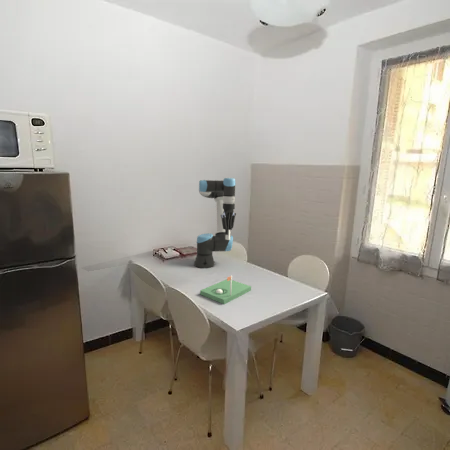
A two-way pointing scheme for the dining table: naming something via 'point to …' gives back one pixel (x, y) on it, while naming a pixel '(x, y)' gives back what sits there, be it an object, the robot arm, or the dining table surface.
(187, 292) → the dining table surface
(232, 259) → the dining table surface
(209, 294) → the mini golf green
